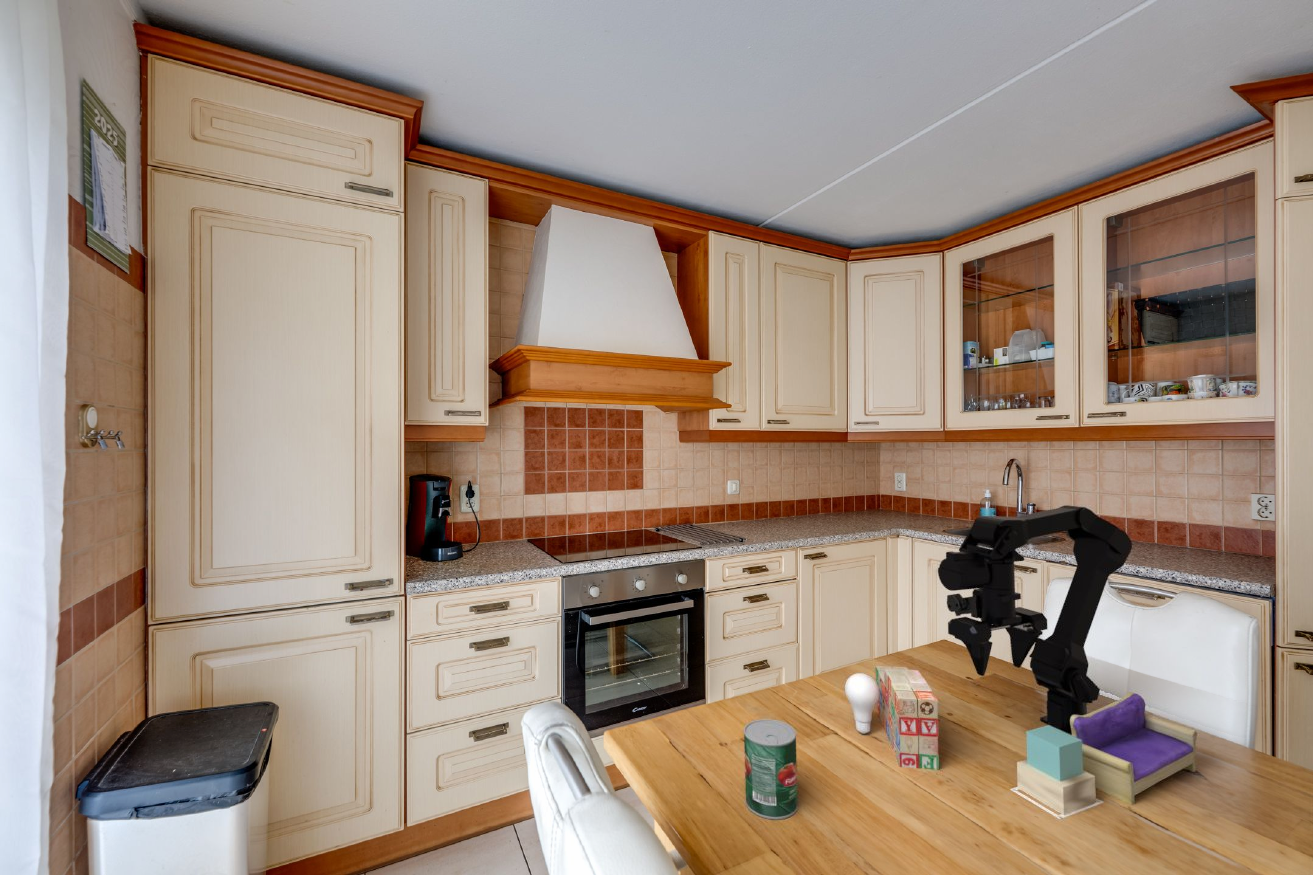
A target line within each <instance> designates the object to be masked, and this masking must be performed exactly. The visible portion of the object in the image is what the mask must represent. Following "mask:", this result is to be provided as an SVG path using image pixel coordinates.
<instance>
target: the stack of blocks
mask: <svg viewBox="0 0 1313 875" xmlns="http://www.w3.org/2000/svg"><path fill="white" fill-rule="evenodd" d="M875 682H876V683H877V685H878V687H879V693H880V695H879V699H878V701H877V703H876V704H877V712H878V714H879V718H880V721H881V723H882V726H883V728H884V732H885V733H886V736H887V738H888V741H889V743H890V746H891V748H892V749H893V751H894V753H895V758H896V760H897V763H898V766H899V767H900V768H912V769H914V768H915V769H927V770H936V771H939V770H940V755H939V700H938V699H937V697H936V696H935V694H934V693H933V690H932V688H931V687H930V686H929V684H928V682H927V680H926V679H925V678H924V676H922V674H921V672H920V671H919V669H917V670H916V669H909V668H908V667H905V666H884V665H882V666H881V665H876V666H875Z"/></svg>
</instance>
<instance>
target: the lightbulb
mask: <svg viewBox="0 0 1313 875" xmlns="http://www.w3.org/2000/svg"><path fill="white" fill-rule="evenodd" d="M844 691H845V692H844V693H845V696H846V698H847V699H848V702H849V703H850V706H851V708H852V711H853V718H854V719H855V728H856V730H857V731H858V732H860V734H863V735H865V734H867V733H869V732H871V722H872V719H873V711H874V709H875V706H876V704H877V701H878V699H879V695H880V693H879V687H878V685H877V682H876V679H874V678H873V677H871V676H870V675H869V674H866V673H863V672H857V673H854V674H852V675H850V676H849V677H848V678H847V680H846V682H845V685H844Z"/></svg>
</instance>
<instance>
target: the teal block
mask: <svg viewBox="0 0 1313 875" xmlns="http://www.w3.org/2000/svg"><path fill="white" fill-rule="evenodd" d="M1025 733H1026V759H1027V764H1028V765H1030V766H1032V767H1034V768H1036V769H1038V770H1040V771H1041V772H1043V773H1045V774H1047V775H1049V776H1051V777H1053V778H1054V779H1056V780H1058V781H1060V782H1061V781H1064V780H1066V779H1069V778H1072V777H1075V776H1078V775H1081V774H1083V758H1082V740H1080V739H1078V738H1076V737H1074V736H1072V735H1071V734H1069V733H1067V732H1065V731H1062V730H1060V729H1058V728H1056V727H1054V726H1051V725H1049V724H1047V725H1043V726H1040V727H1037V728H1034V729H1029V730H1027V731H1026V732H1025Z"/></svg>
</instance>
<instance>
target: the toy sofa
mask: <svg viewBox="0 0 1313 875" xmlns="http://www.w3.org/2000/svg"><path fill="white" fill-rule="evenodd" d="M1145 712H1146V702H1145V700H1144V698H1143V697H1142V695H1140V694H1138V693H1135V692H1133V691H1129V692H1127V693H1126V694H1125V695H1123V696H1122V697H1121V698H1119V699H1118V700H1116V701H1114V702H1112V703H1109V704H1107V705H1105V706H1102V707H1100V708H1098V709H1096V710H1094V711H1091V712H1089V713H1087V714H1086V715H1072V716H1071V718H1070V725H1071V731H1072V736H1074V737H1076V738H1078V739H1080V740H1082V758H1083V770H1084V771H1086V772H1088V773H1090V774H1092V775H1094V776H1095V789H1096V790H1099V791H1100V792H1103V793H1106V794H1108V795H1110V796H1112V797H1114V798H1116V799H1118V800H1120V801H1121V802H1124V803H1126V804H1128V805H1131V806H1132V805H1135V804H1136V802H1135V796H1136V795H1138V794H1140V793H1142V792H1143V791H1145V790H1147V789H1149V788H1150V787H1152V786H1154V785H1156V784H1157V783H1159V782H1160V781H1163V780H1164V779H1166V778H1168V777H1170V776H1173V775H1174V774H1175V773H1177V772H1179V771H1181V770H1183V769H1184V770H1187V771H1190V772H1192V773H1195V772H1196V770H1197V760H1196V759H1197V758H1196V752H1197V750H1196V740H1197V739H1198V738H1197V737H1198V732H1197V731H1196V730H1195V729H1192V728H1189V727H1186V726H1183V725H1180V724H1178V723H1177V724H1176V723H1174V722H1171V721H1168V720H1165V719H1163V718H1160V717H1156V716H1154V715H1150V714H1148V713H1145Z"/></svg>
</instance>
